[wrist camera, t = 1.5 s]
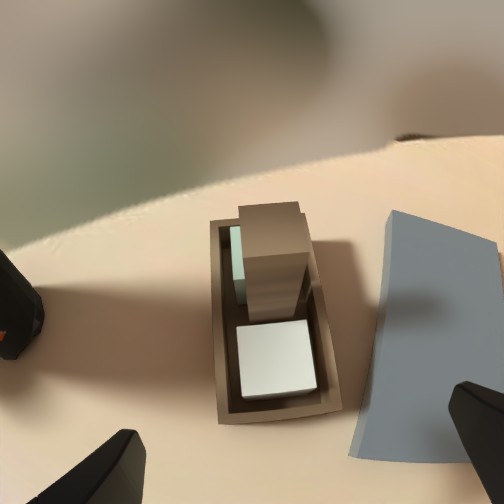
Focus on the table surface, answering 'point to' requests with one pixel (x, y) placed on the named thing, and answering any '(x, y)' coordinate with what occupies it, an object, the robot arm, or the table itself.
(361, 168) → the table surface
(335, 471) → the table surface
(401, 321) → the dock
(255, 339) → the cream block
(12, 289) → the portable speaker
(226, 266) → the caddy
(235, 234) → the sage block
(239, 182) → the table surface
